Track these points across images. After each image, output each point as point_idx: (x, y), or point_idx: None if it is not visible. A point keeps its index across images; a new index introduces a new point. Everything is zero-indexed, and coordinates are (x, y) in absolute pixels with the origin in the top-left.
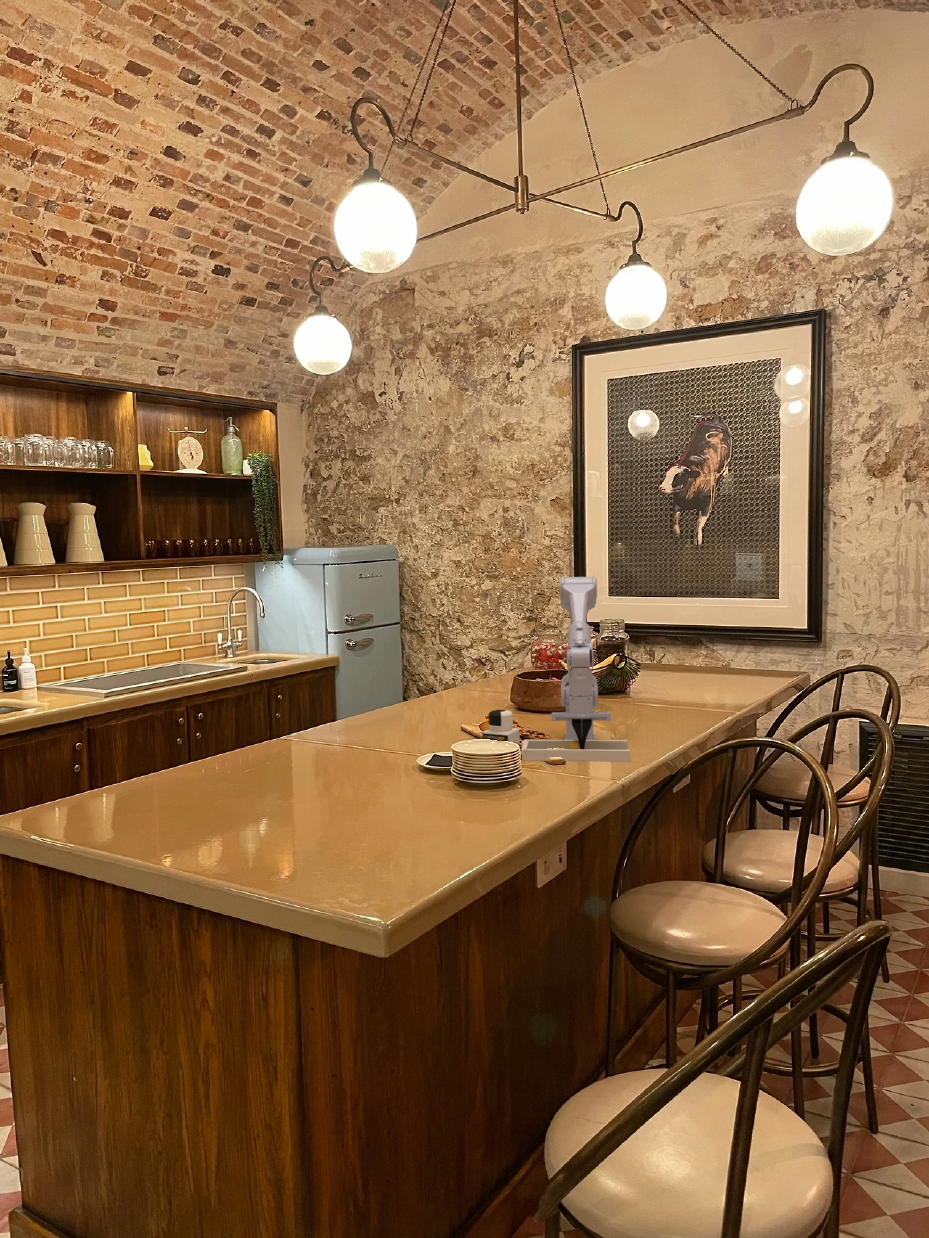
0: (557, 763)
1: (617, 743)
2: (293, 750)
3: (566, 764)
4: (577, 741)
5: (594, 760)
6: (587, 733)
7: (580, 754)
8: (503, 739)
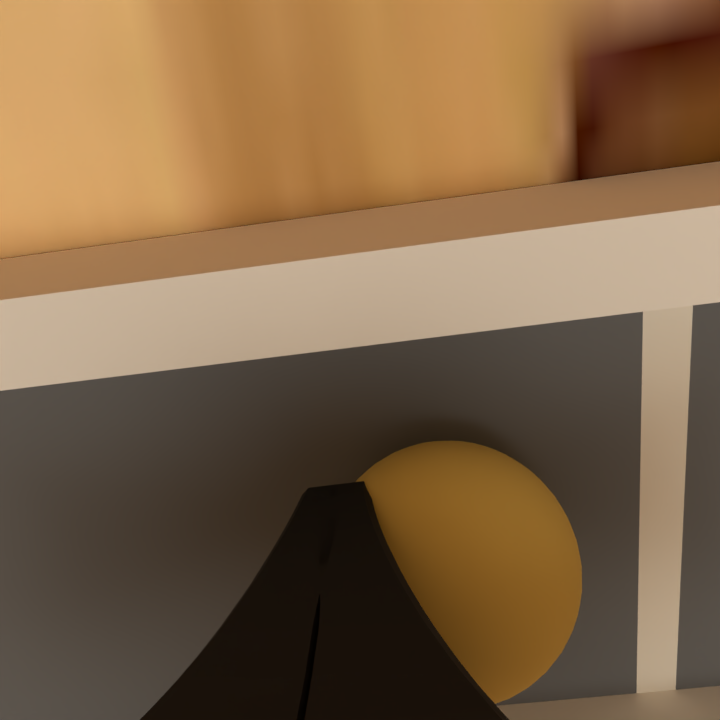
0: (688, 103)
1: None
2: None
3: (540, 60)
4: None
5: (121, 249)
6: (162, 703)
7: (328, 242)
8: None
